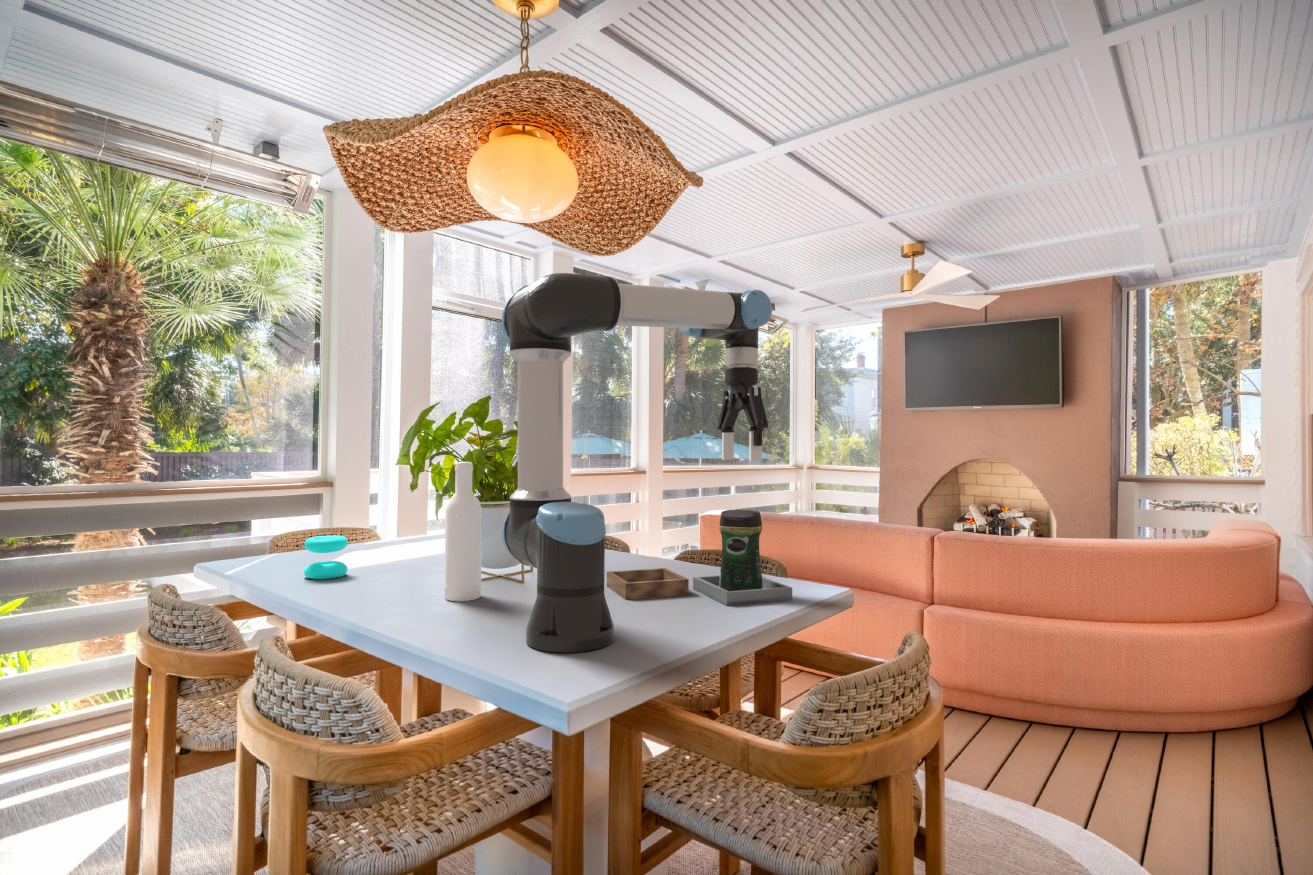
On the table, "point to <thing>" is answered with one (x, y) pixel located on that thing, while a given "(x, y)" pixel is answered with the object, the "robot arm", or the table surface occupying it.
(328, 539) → the pair of cyan pebbles
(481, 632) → the table surface
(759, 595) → the slate tray
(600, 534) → the robot arm
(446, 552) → the bottle
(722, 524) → the coffee jar
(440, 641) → the table surface
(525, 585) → the table surface
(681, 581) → the walnut frame
